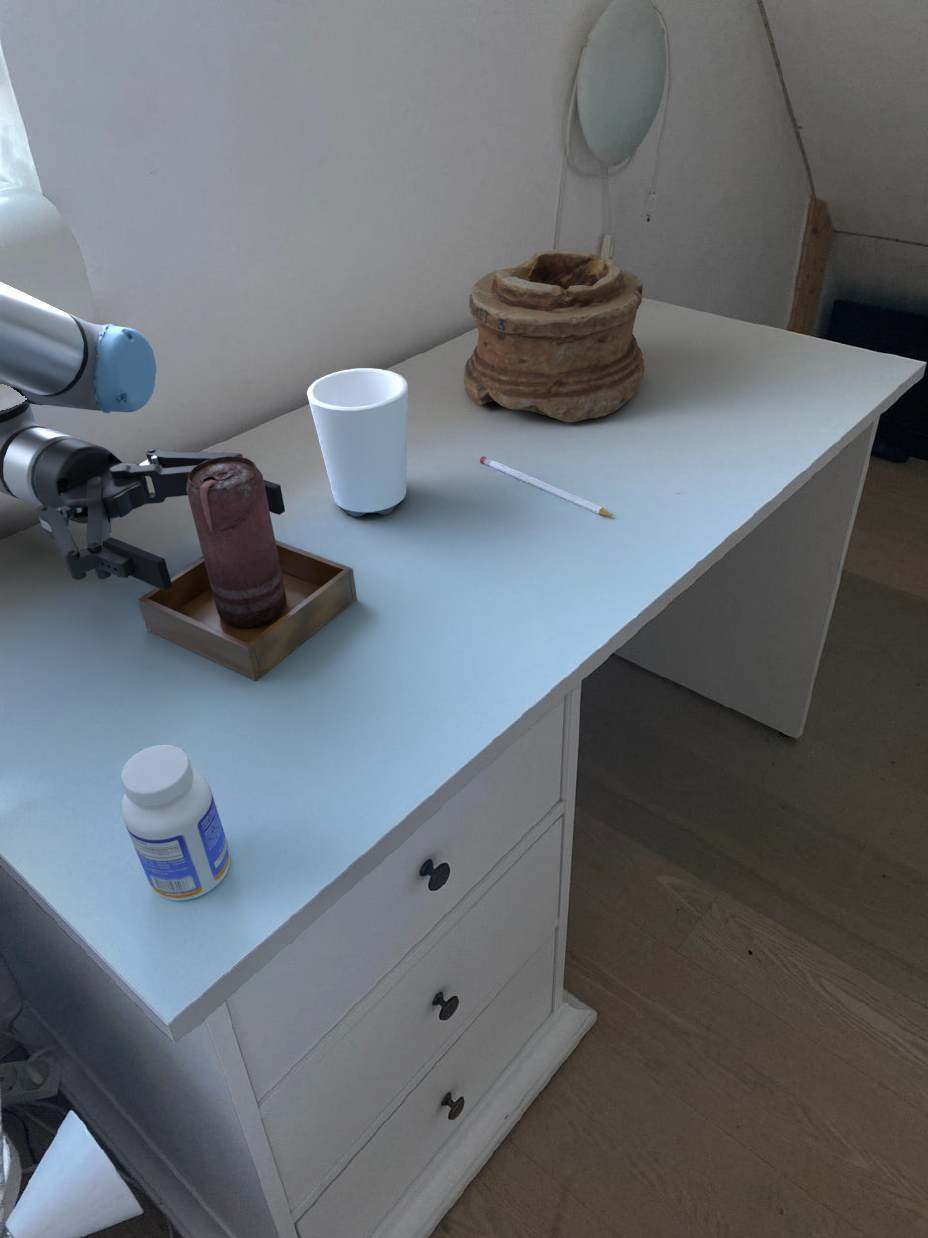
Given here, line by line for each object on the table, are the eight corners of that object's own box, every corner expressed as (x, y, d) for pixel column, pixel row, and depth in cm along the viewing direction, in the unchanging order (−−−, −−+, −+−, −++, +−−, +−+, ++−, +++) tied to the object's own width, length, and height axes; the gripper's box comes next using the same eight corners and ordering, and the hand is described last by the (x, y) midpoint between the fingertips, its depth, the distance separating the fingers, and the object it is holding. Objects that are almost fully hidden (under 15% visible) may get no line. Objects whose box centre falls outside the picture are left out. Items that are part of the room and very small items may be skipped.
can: (207, 630, 82) (169, 489, 74) (233, 588, 87) (200, 451, 79) (273, 635, 81) (243, 492, 73) (296, 592, 86) (270, 454, 78)
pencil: (484, 460, 106) (484, 455, 105) (617, 518, 95) (617, 512, 94) (479, 463, 105) (479, 458, 105) (612, 521, 94) (612, 515, 94)
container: (426, 397, 120) (418, 277, 110) (539, 339, 133) (540, 228, 124) (572, 446, 107) (576, 315, 98) (679, 376, 121) (692, 256, 112)
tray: (255, 681, 77) (248, 649, 75) (146, 630, 83) (137, 599, 81) (357, 599, 86) (353, 568, 84) (252, 558, 92) (245, 528, 90)
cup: (325, 482, 103) (308, 371, 96) (415, 474, 104) (405, 363, 96) (322, 530, 95) (304, 413, 88) (419, 521, 96) (410, 404, 88)
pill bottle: (203, 824, 65) (171, 721, 59) (248, 868, 62) (218, 764, 56) (133, 870, 62) (91, 768, 57) (175, 919, 59) (136, 816, 53)
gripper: (173, 457, 101) (326, 507, 91) (-36, 573, 84) (121, 649, 75) (156, 391, 96) (315, 436, 86) (-69, 500, 80) (95, 571, 70)
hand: (226, 535), depth 80 cm, fingers open, 13 cm apart
